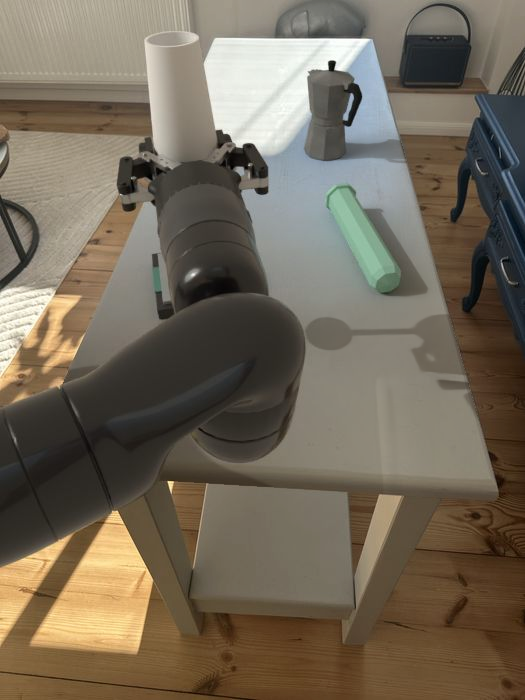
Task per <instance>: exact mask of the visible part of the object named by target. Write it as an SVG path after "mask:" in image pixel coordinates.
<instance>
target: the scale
mask: <svg viewBox="0 0 525 700" xmlns="http://www.w3.org/2000/svg"><path fill="white" fill-rule="evenodd" d="M151 261H152V267H151V269H152V270H151V271H152V280H153V290H154V294H155V302H156V312H157V316H158V319H159V320H162V319H163V320H165V319H168V318H170V317H171V316H173V315H174V310H173V305H172V302H171V298H170V293H169V286H168V278H167V270H166V264H165V261H164V259H163V256H162V252H156V253H151Z"/></svg>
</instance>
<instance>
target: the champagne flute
mask: <svg viewBox="0 0 525 700" xmlns="http://www.w3.org/2000/svg"><path fill="white" fill-rule="evenodd" d="M200 41H201V40H200V36H199V35H198V34H197V33H194V32H192V31H191V32H190V31H185V30H184V31H183V30H170V31H169V30H168V31H161V32H157V33H153V34H150V35H148V36H145V38H144V41H143V42H144V52H145V53H144V54H145V63H146V75H147V84H148V85H147V86H148V96H149V107H150V108H149V109H150V119H151V129H152V143H153V149H154V155H156V156H158V155H161V154H162V155H164V156H165V157H167V158H169V159H171V160H172V161H174V162H190V161H198V160H203V159H207V158H208V156H209V155H210V154H211V153H212V152H213V151H214V150H215V149H219V147H218V141H217V136H216V130H217V129H216V126H215V125H216V124H215V120H214V115H213V108H212V103H211V97H210V91H209V85H208V81H207V80H208V79H207V73H206V68H205V63H204V58H203V52H202V47H201V42H200Z"/></svg>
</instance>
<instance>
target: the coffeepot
mask: <svg viewBox="0 0 525 700" xmlns="http://www.w3.org/2000/svg"><path fill="white" fill-rule="evenodd" d="M336 65H337V61H336V60H332V59H330V60H328V61H327V69H317V68H316V69H311V70H307V73H308V75H307V76H306V80H307V94H308V106H309V107H308V108H309V112H310V113H311V117H310V118H311V119H310V120H309V123H308V127H307V132H306V137H305V141H304V147H303V150H304V152H305V155H307V156H308V157H309V158H311V159H314V160H318V161H334V160H338V159H339V158H342V157H343V156H344V154H345V153H346V151H347V147H346V129H345V128H346V127H347V128H350V127H351V126H352V125H353V122H354V120H355V117H356V115H357V113H358V110H359V107H360V105H361V103H362V100H363V92H362V90H361V87H360V85H359V84H358V83H355V79H356V78H355V77H354V76H353V75H352V74H351V73H349V71H343V70H338V69H336ZM351 95H352V96H353V98H352V102H351V106H350V110H349V111H348V114H347V120H346V119H344V115H345V114H346V113H347V109H348V106H349V102H350V98H351Z"/></svg>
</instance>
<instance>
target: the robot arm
mask: <svg viewBox="0 0 525 700" xmlns="http://www.w3.org/2000/svg"><path fill="white" fill-rule="evenodd" d="M215 130H216V136H217V141H218V147H219V149H215V150H214V151H213V152H212V153H211V154H210V155H209V156H208V158H207V159H203V160H198V161H190V162H174V161H172V160H171V159H169V158H167V157H165V156H164V155H162V154H161V155H158V156H156V155H155V153H154V143H153V137H152V136H149V137H148V136H146V137H144V142H140V143H139V144H138V157H136V158H133V157H132V156H128V155H127V156H126V155H125V156H122V157H120V159H119V163H118V171H117V179H116V188H117V192H118V196H119V200H120V204H121V207H122V211H123V212H126V213H130V212H133V211H135V210H136V209H137V204H140V203H148V202H150V203H151V204H152V206H154V207H155V212H156V220H157V227H156V234H157V237H158V239H159V246H160V251H161V252H160V253H162V256H163V259H164V261H165V264H166V270H167V278H168V286H169V293H170V298H171V302H172V305H173V310H174V315H173V316H171V317H170V318H166V319H164V320H163V321H162V322H160V323H159V324H158V325H156V326H155V327H153V328H151V329H150V330H149V331H147V332H146V333H145V334H143V335H142V336H140V337H139V338H137V339H136V340H134V341H132V342H131V343H129V344H128V345H126V346H124V347H123V348H122V349H120V350H119V351H117V352H116V353H114V355H111V357H109V358H108V359H107V360H106V361H104V362H103V363H102V364H100V365H99V366H98V367H96V368H94V369H93V370H92V371H90V372H89V373H87V374H85V375H83V376H81V377H78V378H75V379H71V380H70V381H67V382H63V383H60V384H59V386H57V385H55V386H52V387H50V388H47V389H45V390H43V391H39V392H37V393H35V394H32V395H28V396H26V397H24V398H21V399H19V400H16V401H12V402H11V403H9V404H6V405H3V407H2V406H1V407H0V569H1V568H3V567H6V566H9V565H12V564H14V563H16V562H19V561H21V560H23V559H25V558H27V557H30V556H32V555H34V554H36V553H38V552H40V551H42V550H45V549H46V548H48V547H50V546H52V545H54V544H56V543H58V542H59V541H62V540H64V539H65V538H67V537H70V536H72V535H73V534H75V533H77V532H79V531H81V530H83V529H84V528H86V527H88V526H91V525H92V524H94V523H96V522H98V521H101V520H102V519H104V518H106V517H108V516H110V515H111V514H112V512H114V513H115V512H117V511H120V510H121V509H122V508H125V507H127V506H128V505H130V504H132V503H134V502H135V501H137V500H139V499H140V498H142V497H144V496H145V495H146V494H147V493H149V492H150V491H151V490H152V489H153V488H154V487H155V486H156V485H157V483H158V482H159V480H160V478H161V475H162V473H163V470H164V467H165V464H166V461H167V459H168V457H169V455H170V453H171V452H172V450H173V449H174V448H175V446H176V445H177V444H178V443H180V442H181V441H183V439H185V438H186V437H188V436H191V438H192V439H193V440H194V441H195V443H196V444H197V445H198V446H199V447H200V448H201V449H202V450H203V451H204V452H206V453H207V454H209V455H211V456H212V457H214V458H216V459H218V460H221V461H224V462H227V463H233V464H245V463H251V462H252V463H253V462H256V461H258V460H261V459H263V458H265V457H266V456H268V455H269V454H270V453H272V452H274V450H276V449H277V448H278V447H279V445H280V444H281V443H282V442H283V441H284V439H285V438H286V436H287V435H288V432H289V430H290V429H291V426H292V424H293V419H294V415H295V411H296V406H297V401H298V394H299V391H300V385H301V380H302V376H303V371H304V367H305V361H306V353H307V352H306V351H307V348H306V346H307V345H306V337H305V331H304V328H303V326H302V324H301V322H300V320H299V318H298V316H297V315H296V313H295V312H294V311H293V310H292V309H291V308H290V307H289V306H287V305H286V304H285V303H284V302H282V301H280V300H279V299H277V298H274V297H273V296H270V291H269V289H270V288H269V281H268V278H267V273H266V270H265V267H264V265H263V261H262V259H261V256H260V252H259V250H258V247H257V240H256V234H255V229H254V226H253V220H252V219H253V218H252V216H251V213H250V210H248V209H247V206H246V203H245V201H244V197H243V195H242V193H243V191H246V190H254V191H255V193H256V194H257V195H260V196H265V195H267V194H269V191H270V190H269V185H270V184H269V183H270V182H269V181H270V180H269V179H270V178H269V166H268V164H267V162H266V161H265V159H264V157H263V156H262V155H261V153H260V151H259V150H258V147H256V144H254V143H252V142H245V143H243V144H242V147H238V146H237V145H236V143H235V142H233V139H232V137H231V134H230V133H229V134H228V133H224V131H223V129H222V128H221V129H215ZM238 168H243V171H244V173H243V175H240V173H239V172H238V171H237V170H238ZM141 179H143V180H144V181H145V182H147V183H148V185H147V186H143V185H142V183H141V182H139V181H138V180H141Z"/></svg>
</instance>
